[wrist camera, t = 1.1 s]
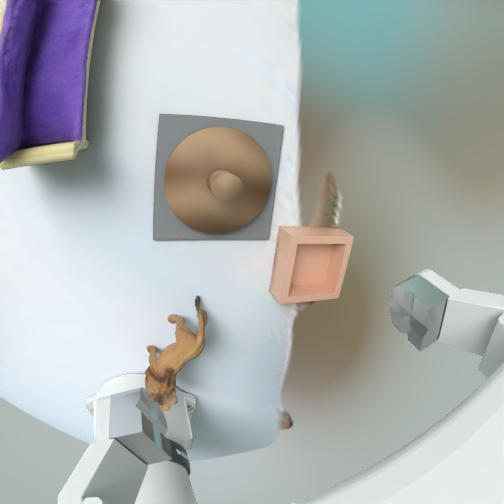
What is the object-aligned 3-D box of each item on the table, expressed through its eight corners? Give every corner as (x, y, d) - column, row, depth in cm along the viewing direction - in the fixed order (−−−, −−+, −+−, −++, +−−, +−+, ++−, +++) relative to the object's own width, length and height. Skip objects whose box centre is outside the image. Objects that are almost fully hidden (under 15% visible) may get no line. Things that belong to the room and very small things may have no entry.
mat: (267, 238, 38) (268, 239, 38) (153, 238, 34) (153, 239, 33) (282, 125, 33) (283, 125, 33) (159, 114, 28) (159, 113, 28)
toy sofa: (91, 154, 28) (66, 165, 19) (23, 162, 25) (-20, 178, 16) (110, -16, 20) (100, -60, 11) (42, -5, 17) (14, -39, 8)
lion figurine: (168, 374, 42) (176, 420, 34) (136, 365, 40) (138, 412, 32) (214, 300, 39) (231, 343, 31) (177, 285, 37) (187, 328, 29)
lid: (262, 231, 37) (279, 247, 32) (162, 231, 33) (164, 249, 28) (274, 132, 33) (295, 134, 28) (167, 123, 29) (170, 122, 24)
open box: (325, 286, 44) (338, 298, 41) (269, 290, 41) (279, 304, 38) (338, 227, 41) (353, 236, 38) (279, 226, 38) (291, 235, 35)
